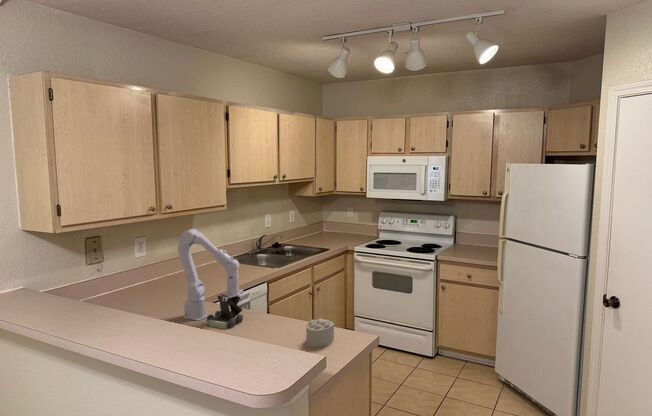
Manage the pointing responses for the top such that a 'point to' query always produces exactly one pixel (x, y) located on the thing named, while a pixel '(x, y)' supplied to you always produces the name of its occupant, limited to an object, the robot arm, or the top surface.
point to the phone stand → (224, 307)
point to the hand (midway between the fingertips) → (233, 311)
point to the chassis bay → (216, 323)
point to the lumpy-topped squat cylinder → (319, 333)
